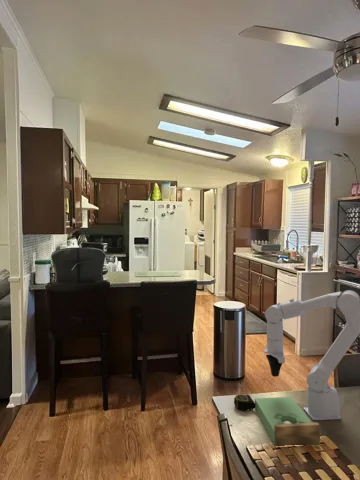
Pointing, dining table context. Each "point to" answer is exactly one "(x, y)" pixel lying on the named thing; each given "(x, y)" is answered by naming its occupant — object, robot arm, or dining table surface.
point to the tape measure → (244, 402)
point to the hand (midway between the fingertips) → (275, 375)
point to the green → (279, 414)
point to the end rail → (297, 433)
